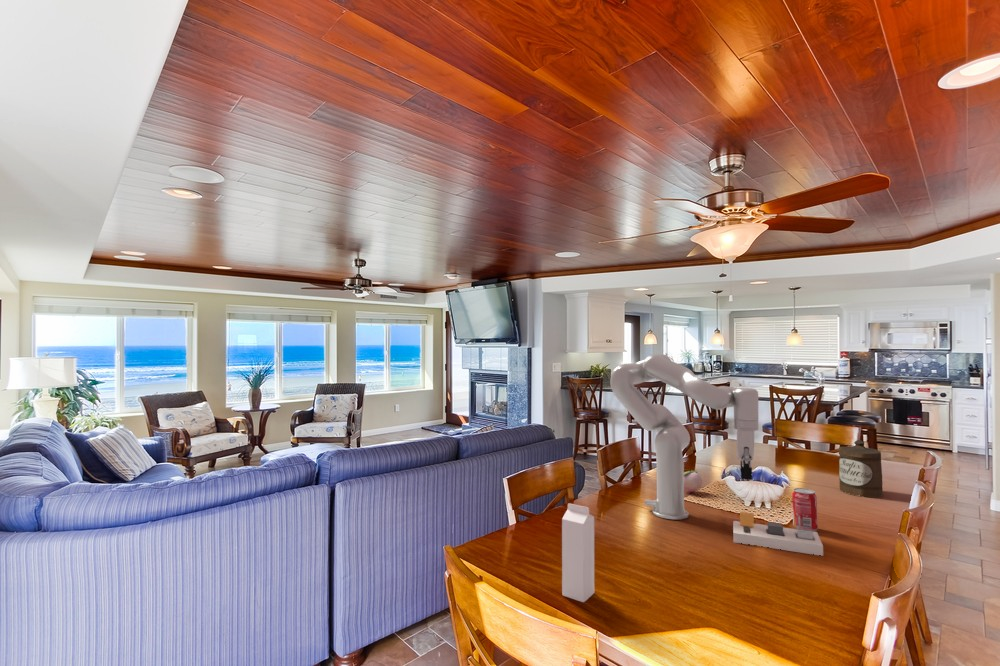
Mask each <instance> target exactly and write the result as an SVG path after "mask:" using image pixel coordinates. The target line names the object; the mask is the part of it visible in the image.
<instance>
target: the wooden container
mask: <svg viewBox="0 0 1000 666" xmlns="http://www.w3.org/2000/svg"><path fill="white" fill-rule="evenodd" d="M853 443H854V444H855V445H853V446H839V447H838V455H839V459H838V460H839V465H838V466H839V468H838V471H839V473H838V474H839V477H838V479H839V480H838V481H839V490H840V491H841V492H842V491H843V493H845V492H846V493H845V494H847V493H850V494H849V495H851V494H854V495H853V496H855V495H860V496H859V497H862V496H866V497H865V498H880V497H883V470H882V469H883V467H882V452H881V450H878V449H875V448H871V447H866V446H865V442H864V441H863V440H859V439H857V440H855V441H854V442H853Z"/></svg>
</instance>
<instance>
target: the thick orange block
mask: <svg viewBox="0 0 1000 666" xmlns="http://www.w3.org/2000/svg"><path fill="white" fill-rule="evenodd" d="M754 518H755V515H754V513H753V512H747V511H739V522H740V525H742V526H745V533H749V527H754V524H755V519H754Z"/></svg>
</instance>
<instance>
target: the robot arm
mask: <svg viewBox="0 0 1000 666" xmlns="http://www.w3.org/2000/svg"><path fill="white" fill-rule="evenodd" d="M652 380H658V381H660V382H662V383H665V384H667V385H668V386H670V387H673V388H675V389H676V390H678V391H680V392H681V393H683V394H684V395H686V396H687V397H689V398H691V399H692V400H693V401H696V402H698V403H701V404H702V405H704V406H706V407H709V408H711V409H713V410H725V409H726V408H733V429H734V430H736V459H738V460H740V478H741V480H749V481H752V480H753V467H752V461H753V460H754V453H755V431H759V392H758V390H757V389H755V388H751V387H738V388H737V387H733V386H729V385H728V386H727V385H720V386H716V385H713V384H712V383H710V382H707V381H705V380H703V379H701V378H700V377H698V376H697V375H696V374H695V373H694V372H693V371H692V370H691V369H690V368H688V367H686V366H683V365H682V364H680V363H677V362H676V361H673V360H672V359H671V358H670V357H669V356H667V355H665V354H663V353H655V354H654V353H653V354H649V355H648V356H646V357H645V358H644V359H641V360H640V361H637V362H632V363H622V364H619V365H617V366H616V367H615V368H614V369H613V370H612V373H611V376H610V388H611V391H612V393H613V395H614V396H615V398H616V399H617V400H618V401H619V403H621V404H622V406H624V408H625V409H626V410H627V412H629V414H630V415H631V416H632V417H633V418H634V420H635V421H636V422H637V423H638V424H639V426H641V428H642V429H643V430H645V431H648V432H649V431H650V432H651V431H656V432H657V434H656V435H655V438H654V450H655V460H656V499H653V500H652V499H648V498H647V499H646V498H645V499H644V505H645V506H647V507H652V513H653V514H654V516H657V517H659V518H661V519H667V520H674V521H675V520H676V521H677V520H684V519H687V518H688V517H690V514H689V511H688V510H686V509H685V489H684V472H685V465H684V456H683V450H684V449H685V448H688V446H689V445H690V441H691V437H690V433H689V431H688V429H687V428H686V427H685V425H683V423H682V422H681V421H680V420H679V419H678V418H677V417H676V416H675V415H674V414H673V413H672V412H671V410H669V409H668V408H667V407H666V406H664V405H662V404H660V403H652V402H650V400H648V397H646V396H645V395H644V394H643V392H641V391H640V390H639V389H637V388H636V387H635V385H639V384H642V383H645V382H648V381H652Z"/></svg>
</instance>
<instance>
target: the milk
mask: <svg viewBox="0 0 1000 666" xmlns="http://www.w3.org/2000/svg"><path fill="white" fill-rule="evenodd" d="M561 565H562V566H561V572H562V573H561V575H562V576H561V593H562V596H563V597H566V598H569V599H572V600H575V601H578V602H580V603H582V604H583V603H585V602H587V600H589V598H591V597H592V596H593V595H594V594H595V517H594V516H593V515H592V514H591V513H590V508H589V507H588V506H583V505H579V504H574V503H570V502H569V503H567V510H566V511H565V512H564V515H563V517H562V518H561Z"/></svg>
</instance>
